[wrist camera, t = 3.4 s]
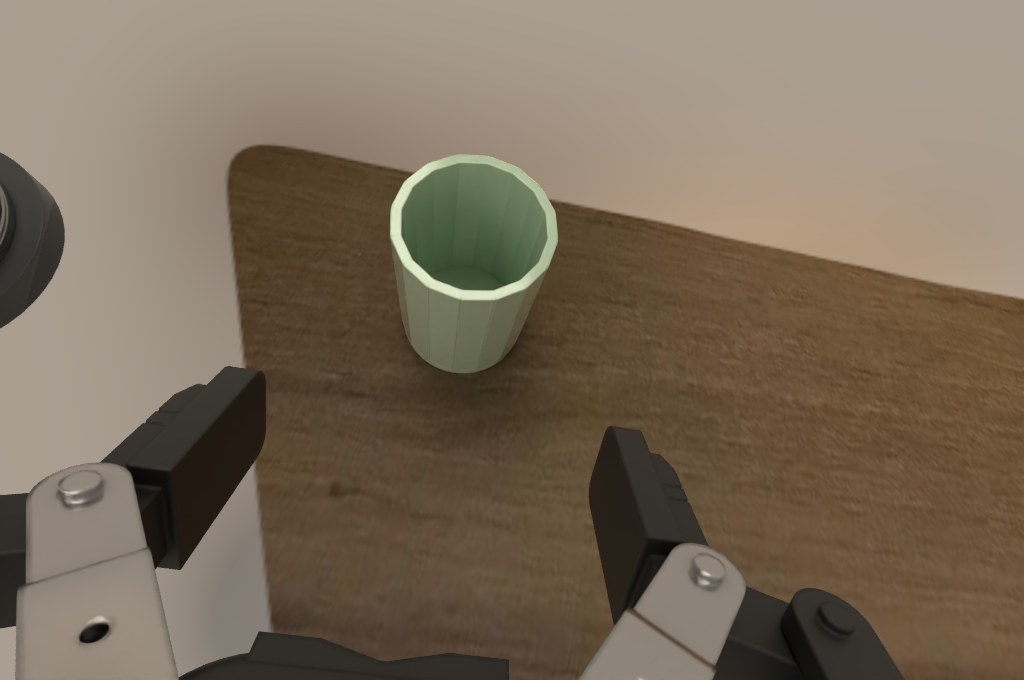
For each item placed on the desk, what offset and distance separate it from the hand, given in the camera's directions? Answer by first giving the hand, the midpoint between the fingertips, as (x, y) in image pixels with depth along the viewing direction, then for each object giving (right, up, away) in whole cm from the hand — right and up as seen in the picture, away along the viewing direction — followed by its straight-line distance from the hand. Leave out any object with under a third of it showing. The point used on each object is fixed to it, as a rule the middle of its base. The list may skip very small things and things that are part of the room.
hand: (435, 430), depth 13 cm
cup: (-1, +3, +15) cm, 15 cm away
